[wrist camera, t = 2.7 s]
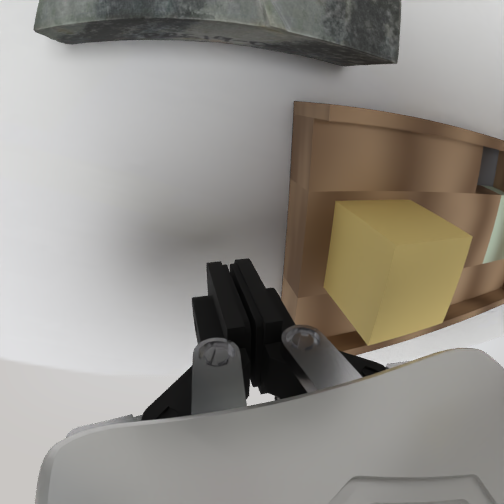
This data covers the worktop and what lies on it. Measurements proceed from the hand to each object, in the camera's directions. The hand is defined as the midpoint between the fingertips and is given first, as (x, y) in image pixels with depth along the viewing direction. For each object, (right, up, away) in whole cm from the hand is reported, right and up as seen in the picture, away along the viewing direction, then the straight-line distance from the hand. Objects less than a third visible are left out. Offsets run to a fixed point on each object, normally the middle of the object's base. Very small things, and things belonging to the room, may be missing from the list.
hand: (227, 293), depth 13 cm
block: (+7, +2, +4) cm, 9 cm away
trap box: (+15, +4, +8) cm, 17 cm away
